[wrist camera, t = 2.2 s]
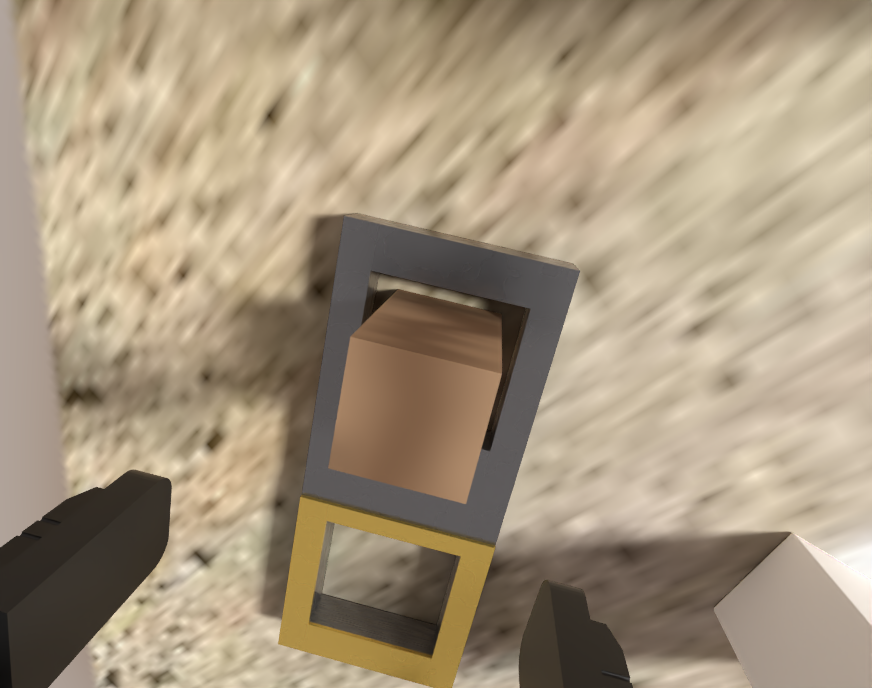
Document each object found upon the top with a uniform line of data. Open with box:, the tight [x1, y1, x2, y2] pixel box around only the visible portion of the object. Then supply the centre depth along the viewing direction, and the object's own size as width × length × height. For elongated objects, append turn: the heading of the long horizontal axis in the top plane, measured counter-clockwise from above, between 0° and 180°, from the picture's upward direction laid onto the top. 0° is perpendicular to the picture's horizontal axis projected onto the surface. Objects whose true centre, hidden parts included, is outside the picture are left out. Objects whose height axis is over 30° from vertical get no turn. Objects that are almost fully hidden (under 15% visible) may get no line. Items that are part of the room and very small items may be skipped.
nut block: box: [328, 289, 502, 504], centre depth 21 cm, size 5×5×8 cm
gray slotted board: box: [278, 213, 580, 688], centre depth 25 cm, size 10×24×2 cm, turn 168°
